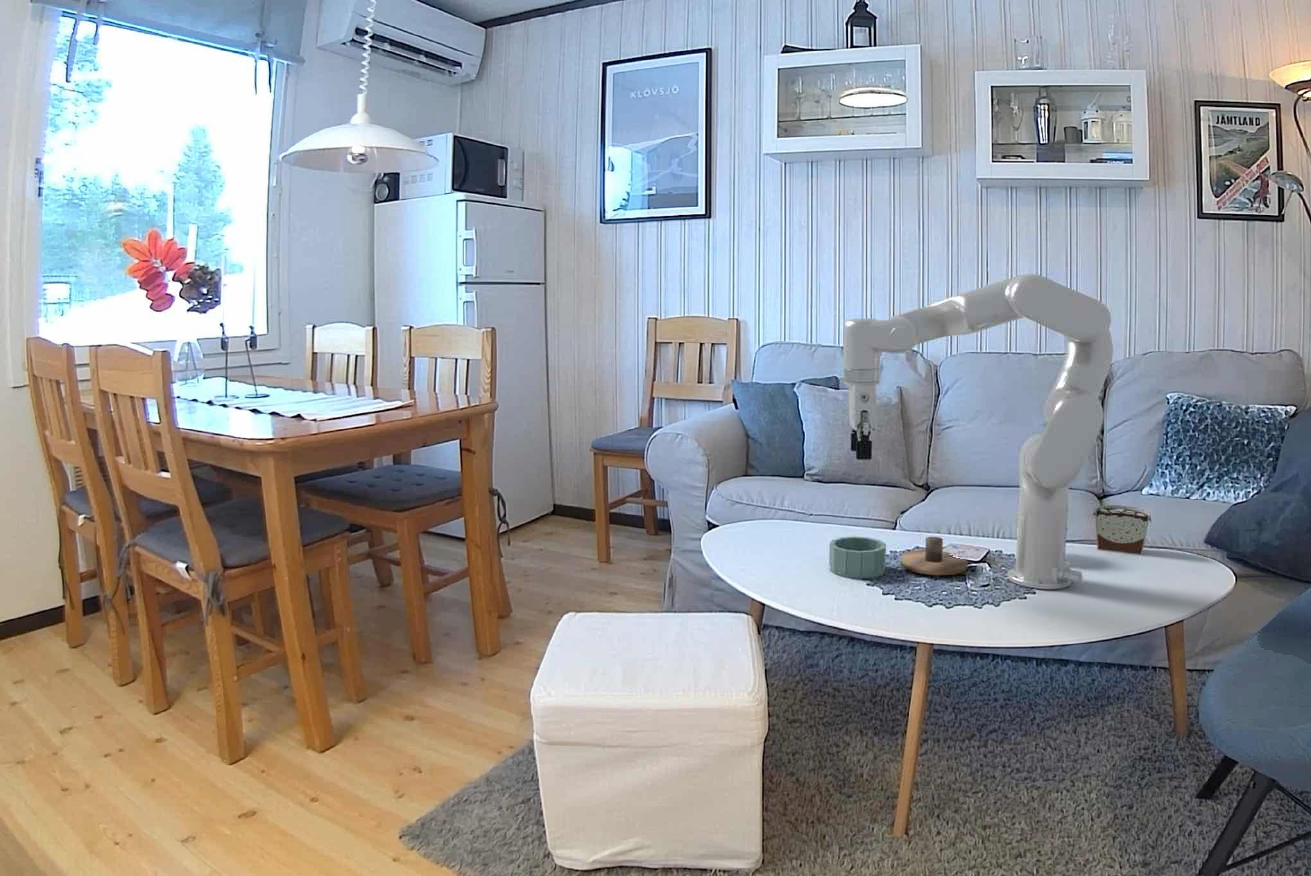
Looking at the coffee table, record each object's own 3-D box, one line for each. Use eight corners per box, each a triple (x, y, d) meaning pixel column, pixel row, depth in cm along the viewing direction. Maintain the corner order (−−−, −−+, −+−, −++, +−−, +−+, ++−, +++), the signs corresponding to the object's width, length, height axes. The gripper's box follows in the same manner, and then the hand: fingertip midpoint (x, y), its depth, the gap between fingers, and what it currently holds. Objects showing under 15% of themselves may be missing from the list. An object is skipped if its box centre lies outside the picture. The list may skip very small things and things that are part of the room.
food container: (1151, 549, 215) (1154, 508, 214) (1149, 556, 210) (1152, 514, 209) (1094, 542, 222) (1096, 502, 220) (1090, 549, 217) (1093, 508, 215)
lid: (979, 569, 204) (981, 539, 203) (943, 584, 195) (944, 552, 194) (923, 555, 215) (924, 526, 214) (887, 568, 206) (887, 538, 205)
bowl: (895, 570, 204) (896, 544, 203) (862, 582, 197) (863, 555, 196) (852, 558, 213) (852, 533, 212) (818, 569, 206) (819, 544, 205)
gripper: (885, 380, 187) (884, 462, 190) (873, 372, 204) (873, 447, 207) (848, 381, 188) (847, 463, 191) (839, 372, 205) (839, 448, 208)
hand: (860, 454), depth 199 cm, fingers open, 9 cm apart
